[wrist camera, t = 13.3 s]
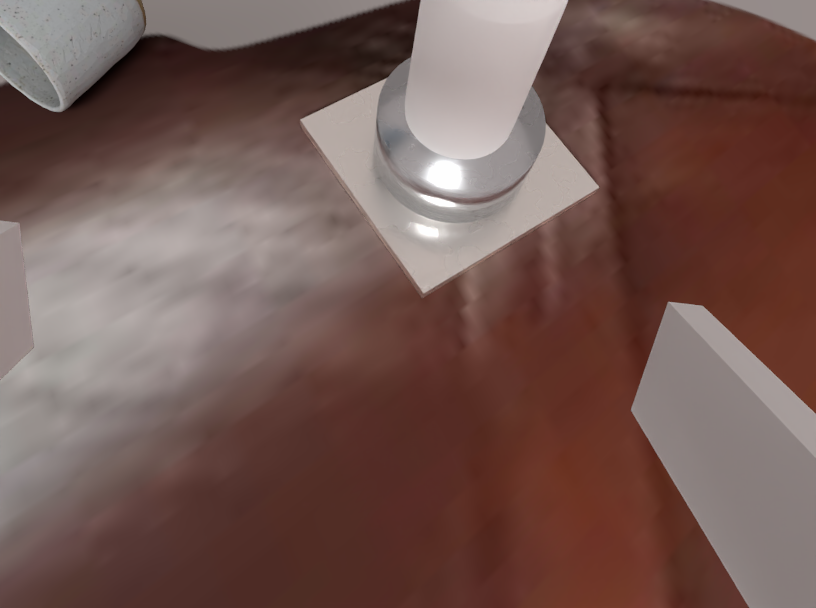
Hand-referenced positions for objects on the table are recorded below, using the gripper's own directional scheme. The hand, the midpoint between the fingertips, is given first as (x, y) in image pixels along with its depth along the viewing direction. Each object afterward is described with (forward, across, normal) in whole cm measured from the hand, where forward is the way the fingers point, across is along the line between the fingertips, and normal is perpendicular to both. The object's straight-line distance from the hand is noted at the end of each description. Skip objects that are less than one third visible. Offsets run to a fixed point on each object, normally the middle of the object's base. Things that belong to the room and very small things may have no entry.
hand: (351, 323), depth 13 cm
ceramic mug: (+34, -21, 0) cm, 39 cm away
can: (+27, +5, +1) cm, 27 cm away
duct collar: (+30, +5, -3) cm, 31 cm away
